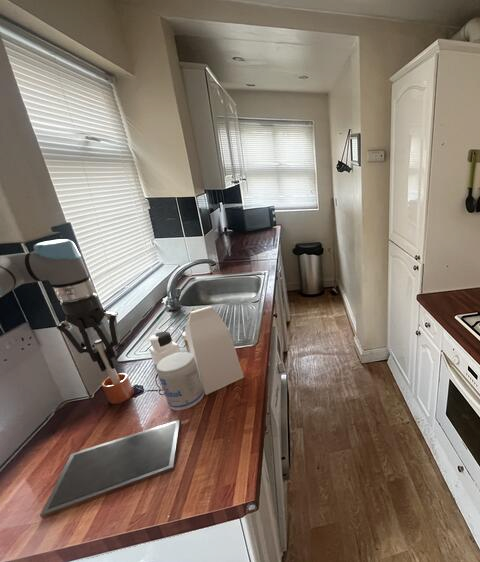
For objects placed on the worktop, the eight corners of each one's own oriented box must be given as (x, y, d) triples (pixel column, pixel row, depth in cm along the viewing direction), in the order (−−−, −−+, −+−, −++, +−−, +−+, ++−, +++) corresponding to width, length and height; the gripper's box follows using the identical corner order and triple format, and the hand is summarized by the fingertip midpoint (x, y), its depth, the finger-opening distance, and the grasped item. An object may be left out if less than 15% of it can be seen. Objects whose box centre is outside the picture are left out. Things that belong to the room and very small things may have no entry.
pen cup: (107, 407, 93) (98, 389, 90) (113, 394, 98) (105, 376, 95) (132, 400, 95) (124, 382, 92) (136, 388, 100) (129, 370, 98)
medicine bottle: (175, 354, 117) (166, 327, 113) (183, 360, 113) (174, 333, 109) (154, 364, 112) (143, 336, 107) (162, 371, 108) (152, 342, 103)
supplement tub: (162, 412, 90) (146, 372, 84) (180, 390, 99) (167, 351, 93) (195, 411, 90) (182, 370, 85) (210, 388, 99) (199, 350, 93)
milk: (205, 395, 96) (183, 323, 86) (196, 377, 104) (175, 309, 94) (244, 377, 104) (227, 309, 94) (232, 362, 112) (216, 297, 102)
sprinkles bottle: (196, 360, 114) (186, 328, 108) (208, 359, 113) (199, 328, 108) (189, 367, 109) (178, 335, 104) (201, 367, 109) (191, 335, 104)
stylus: (114, 389, 94) (92, 343, 87) (116, 386, 96) (95, 340, 89) (121, 388, 95) (100, 341, 88) (123, 384, 96) (102, 338, 90)
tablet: (41, 518, 64) (39, 515, 64) (72, 456, 77) (70, 453, 77) (174, 470, 73) (173, 466, 73) (181, 422, 87) (180, 418, 86)
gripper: (34, 308, 77) (73, 382, 86) (107, 296, 83) (136, 367, 92) (48, 297, 83) (83, 367, 92) (115, 286, 89) (141, 353, 98)
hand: (109, 367), depth 92 cm, fingers closed on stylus, 2 cm apart
